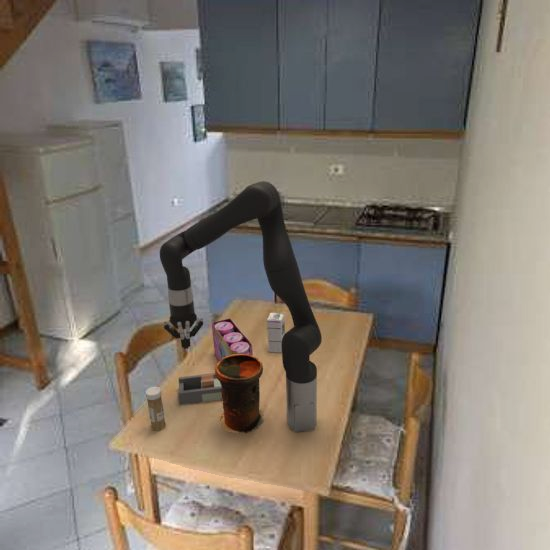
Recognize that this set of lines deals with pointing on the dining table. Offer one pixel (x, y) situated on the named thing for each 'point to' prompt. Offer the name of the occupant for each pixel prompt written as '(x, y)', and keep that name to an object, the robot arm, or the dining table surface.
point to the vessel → (240, 392)
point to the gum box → (229, 339)
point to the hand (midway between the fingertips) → (186, 347)
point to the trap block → (207, 381)
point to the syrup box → (275, 331)
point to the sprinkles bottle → (155, 408)
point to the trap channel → (198, 390)
